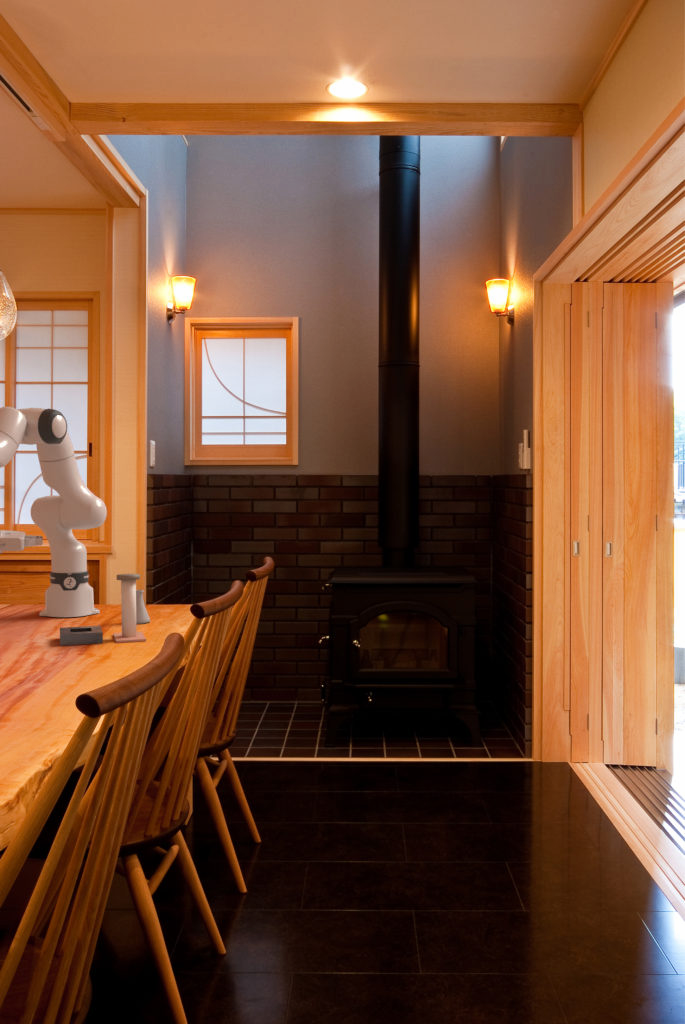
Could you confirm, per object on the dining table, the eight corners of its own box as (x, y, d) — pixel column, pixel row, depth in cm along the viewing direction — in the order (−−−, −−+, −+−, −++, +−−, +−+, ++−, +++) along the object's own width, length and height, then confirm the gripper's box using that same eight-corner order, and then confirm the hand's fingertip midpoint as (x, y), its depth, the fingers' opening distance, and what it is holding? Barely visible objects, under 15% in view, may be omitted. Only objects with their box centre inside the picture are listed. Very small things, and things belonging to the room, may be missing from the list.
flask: (145, 624, 266) (144, 592, 266) (122, 624, 267) (122, 591, 267) (154, 621, 273) (154, 589, 273) (132, 620, 274) (132, 588, 274)
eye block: (59, 638, 243) (59, 627, 243) (100, 636, 247) (100, 625, 247) (60, 645, 233) (60, 634, 233) (102, 643, 236) (102, 632, 236)
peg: (116, 634, 246) (115, 574, 245) (139, 633, 248) (138, 573, 247) (118, 638, 240) (117, 576, 239) (141, 637, 242) (141, 575, 241)
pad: (113, 635, 248) (113, 633, 248) (141, 633, 251) (141, 631, 251) (116, 642, 237) (116, 640, 237) (146, 641, 239) (146, 639, 239)
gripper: (-14, 533, 226) (42, 531, 231) (-10, 527, 245) (42, 526, 250) (-14, 557, 226) (42, 555, 231) (-9, 550, 246) (43, 548, 250)
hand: (42, 540), depth 241 cm, fingers open, 8 cm apart
